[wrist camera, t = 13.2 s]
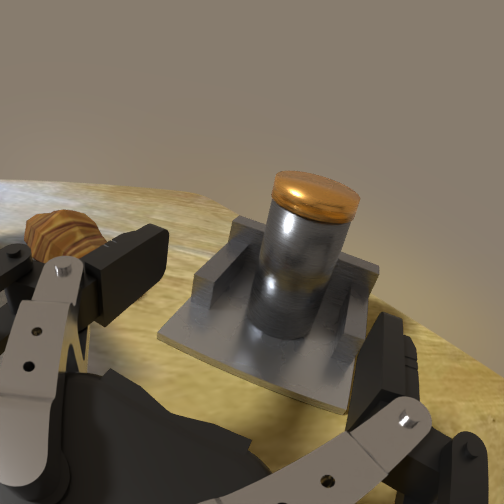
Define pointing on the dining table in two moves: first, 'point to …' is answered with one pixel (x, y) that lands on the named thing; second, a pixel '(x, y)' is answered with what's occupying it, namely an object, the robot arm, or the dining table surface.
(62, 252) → the croissant
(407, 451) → the robot arm
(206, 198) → the dining table surface
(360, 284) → the keeper bracket
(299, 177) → the grey and copper cylinder
